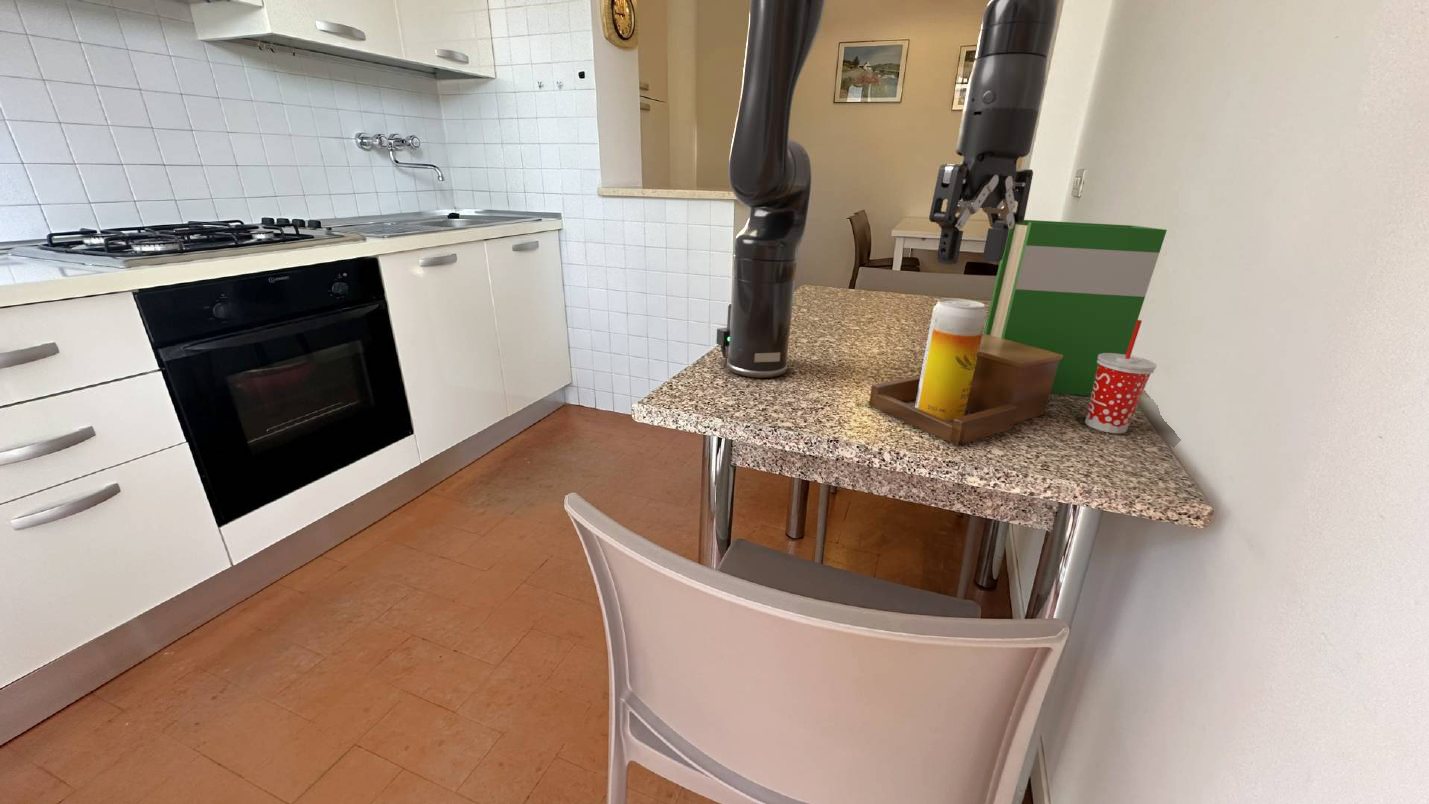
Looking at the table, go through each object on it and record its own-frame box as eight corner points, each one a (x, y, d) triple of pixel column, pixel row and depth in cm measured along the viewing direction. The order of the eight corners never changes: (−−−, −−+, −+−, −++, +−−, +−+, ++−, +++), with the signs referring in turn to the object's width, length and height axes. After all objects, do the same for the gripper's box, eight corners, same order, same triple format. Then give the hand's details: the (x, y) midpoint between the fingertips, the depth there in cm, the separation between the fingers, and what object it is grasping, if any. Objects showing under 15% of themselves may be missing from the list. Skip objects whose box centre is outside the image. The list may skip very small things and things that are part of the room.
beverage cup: (1075, 413, 78) (1106, 312, 73) (1128, 422, 76) (1164, 319, 71) (1080, 429, 73) (1114, 321, 68) (1137, 439, 70) (1176, 329, 65)
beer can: (967, 428, 71) (994, 309, 66) (916, 422, 72) (939, 305, 67) (958, 410, 77) (982, 300, 71) (911, 405, 78) (931, 295, 72)
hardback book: (991, 388, 86) (1031, 222, 77) (974, 373, 93) (1009, 219, 84) (1112, 397, 85) (1166, 229, 76) (1086, 380, 92) (1133, 225, 83)
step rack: (868, 405, 77) (877, 345, 74) (962, 384, 87) (974, 330, 84) (957, 446, 66) (972, 377, 63) (1052, 416, 77) (1069, 356, 73)
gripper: (1007, 117, 68) (978, 256, 74) (928, 104, 61) (903, 260, 67) (1071, 112, 62) (1034, 264, 68) (992, 98, 55) (959, 269, 61)
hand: (969, 262), depth 67 cm, fingers open, 8 cm apart
